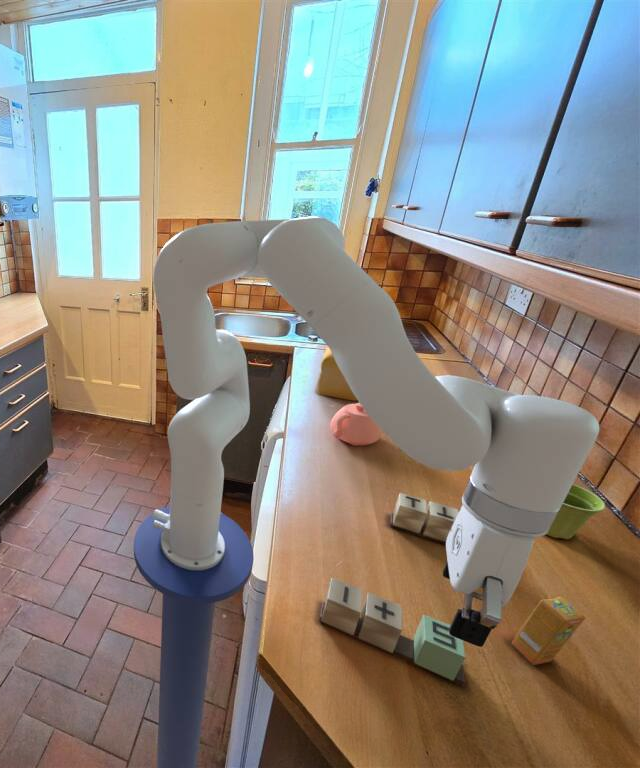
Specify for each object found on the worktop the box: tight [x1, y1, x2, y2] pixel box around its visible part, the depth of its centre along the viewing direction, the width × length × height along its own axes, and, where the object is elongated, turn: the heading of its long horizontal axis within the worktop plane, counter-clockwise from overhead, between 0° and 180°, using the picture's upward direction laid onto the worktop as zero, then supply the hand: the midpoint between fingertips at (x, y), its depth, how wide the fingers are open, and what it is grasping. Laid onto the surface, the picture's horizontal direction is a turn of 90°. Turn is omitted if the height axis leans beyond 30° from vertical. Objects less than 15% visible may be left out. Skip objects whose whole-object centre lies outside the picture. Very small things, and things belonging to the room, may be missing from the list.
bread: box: [316, 345, 358, 402], centre depth 140 cm, size 24×13×15 cm, turn 150°
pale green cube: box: [413, 614, 466, 680], centre depth 56 cm, size 4×4×5 cm
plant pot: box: [546, 483, 606, 540], centre depth 78 cm, size 9×9×9 cm
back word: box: [389, 492, 459, 545], centre depth 77 cm, size 18×4×6 cm, turn 58°
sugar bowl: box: [329, 402, 382, 447], centre depth 109 cm, size 12×14×10 cm
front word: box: [318, 577, 466, 687], centre depth 59 cm, size 18×4×6 cm, turn 58°
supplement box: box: [511, 596, 586, 666], centre depth 56 cm, size 3×3×10 cm
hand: (460, 607), depth 52 cm, fingers open, 9 cm apart
